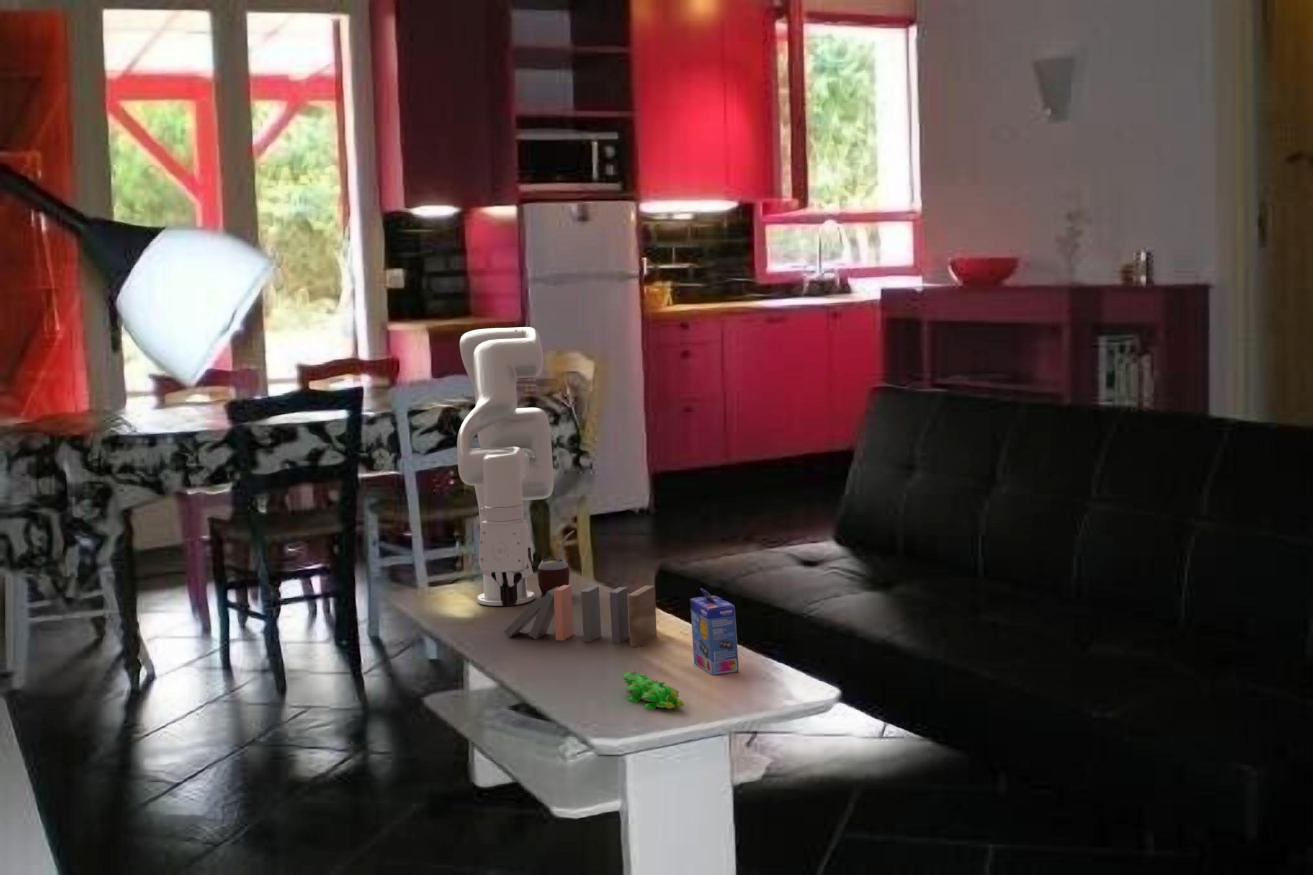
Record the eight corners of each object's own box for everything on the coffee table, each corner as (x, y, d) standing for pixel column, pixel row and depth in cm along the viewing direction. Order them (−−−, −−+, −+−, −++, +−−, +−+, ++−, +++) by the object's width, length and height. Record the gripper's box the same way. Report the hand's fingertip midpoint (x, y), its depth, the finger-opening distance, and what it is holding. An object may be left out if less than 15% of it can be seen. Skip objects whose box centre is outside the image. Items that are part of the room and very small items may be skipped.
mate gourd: (535, 594, 354) (532, 528, 353) (569, 590, 357) (566, 525, 355) (543, 600, 347) (539, 533, 346) (578, 597, 350) (574, 530, 348)
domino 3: (555, 640, 310) (553, 590, 309) (566, 634, 315) (564, 584, 314) (563, 640, 309) (561, 590, 308) (573, 634, 314) (571, 585, 313)
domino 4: (583, 641, 308) (581, 591, 307) (593, 635, 312) (591, 585, 311) (591, 641, 307) (588, 591, 306) (601, 635, 312) (598, 586, 311)
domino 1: (503, 631, 314) (535, 600, 311) (514, 625, 319) (546, 594, 315) (508, 637, 314) (540, 606, 310) (519, 631, 318) (551, 600, 315)
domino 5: (612, 642, 306) (609, 592, 305) (621, 636, 310) (619, 586, 309) (619, 643, 305) (617, 592, 304) (629, 637, 310) (627, 587, 309)
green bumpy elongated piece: (644, 687, 273) (643, 663, 273) (696, 711, 257) (695, 685, 257) (610, 694, 270) (609, 669, 269) (661, 718, 254) (660, 692, 254)
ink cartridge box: (691, 663, 287) (687, 585, 286) (719, 659, 289) (716, 582, 288) (710, 676, 278) (707, 595, 277) (739, 672, 280) (736, 591, 278)
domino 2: (528, 635, 312) (546, 591, 309) (539, 629, 317) (557, 586, 314) (535, 639, 312) (553, 595, 309) (546, 633, 316) (564, 590, 314)
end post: (630, 646, 302) (627, 595, 301) (647, 635, 310) (645, 585, 309) (640, 646, 301) (637, 595, 300) (656, 635, 310) (654, 585, 309)
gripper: (462, 516, 313) (467, 607, 315) (530, 517, 307) (535, 610, 309) (479, 510, 320) (484, 599, 322) (546, 511, 314) (551, 602, 316)
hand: (509, 604), depth 315 cm, fingers closed
